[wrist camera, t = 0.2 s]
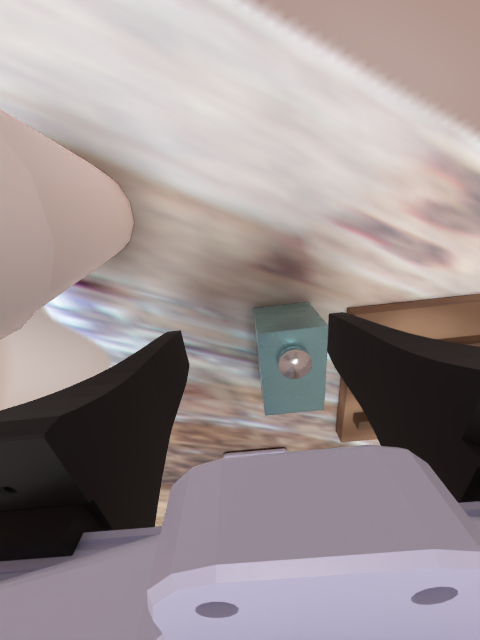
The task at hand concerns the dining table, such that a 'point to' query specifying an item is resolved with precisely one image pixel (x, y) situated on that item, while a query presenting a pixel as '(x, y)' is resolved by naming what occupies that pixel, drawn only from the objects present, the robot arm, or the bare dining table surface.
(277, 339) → the block
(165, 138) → the dining table surface
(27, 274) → the foam cup
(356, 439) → the stand
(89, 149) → the dining table surface
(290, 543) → the robot arm
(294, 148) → the dining table surface
